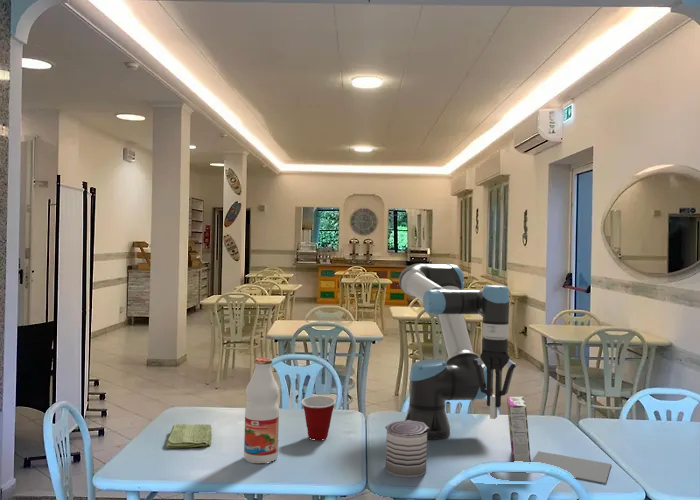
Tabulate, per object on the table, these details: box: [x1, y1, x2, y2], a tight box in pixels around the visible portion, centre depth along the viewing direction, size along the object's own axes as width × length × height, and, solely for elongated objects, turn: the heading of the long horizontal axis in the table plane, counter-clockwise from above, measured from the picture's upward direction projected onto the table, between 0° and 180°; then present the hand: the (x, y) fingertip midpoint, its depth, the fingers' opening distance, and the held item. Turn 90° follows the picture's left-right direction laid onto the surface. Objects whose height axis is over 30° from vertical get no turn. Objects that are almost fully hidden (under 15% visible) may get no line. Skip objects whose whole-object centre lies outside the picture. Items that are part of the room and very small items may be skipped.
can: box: [384, 419, 429, 478], centre depth 163 cm, size 11×11×12 cm
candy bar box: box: [506, 396, 532, 462], centre depth 175 cm, size 11×5×16 cm, turn 169°
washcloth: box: [165, 423, 212, 449], centre depth 184 cm, size 13×18×3 cm
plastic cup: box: [300, 395, 337, 441], centre depth 188 cm, size 11×11×12 cm
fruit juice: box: [243, 357, 280, 464], centre depth 169 cm, size 9×9×28 cm
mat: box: [531, 450, 612, 485], centre depth 168 cm, size 20×16×1 cm
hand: (493, 417), depth 178 cm, fingers closed
